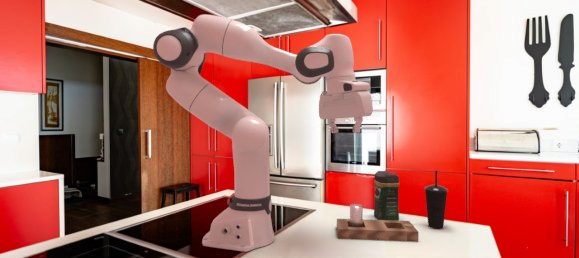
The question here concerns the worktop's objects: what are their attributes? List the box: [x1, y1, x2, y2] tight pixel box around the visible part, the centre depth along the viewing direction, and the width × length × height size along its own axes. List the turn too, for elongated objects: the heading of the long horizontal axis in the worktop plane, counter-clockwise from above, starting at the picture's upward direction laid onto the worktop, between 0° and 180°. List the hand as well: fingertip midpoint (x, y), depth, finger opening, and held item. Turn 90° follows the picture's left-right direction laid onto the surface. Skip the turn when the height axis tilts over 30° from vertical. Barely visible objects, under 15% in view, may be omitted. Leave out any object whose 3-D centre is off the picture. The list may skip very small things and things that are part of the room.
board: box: [336, 218, 419, 243], centre depth 98 cm, size 24×10×4 cm, turn 84°
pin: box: [349, 203, 364, 227], centre depth 99 cm, size 4×4×9 cm
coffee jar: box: [373, 170, 400, 221], centre depth 114 cm, size 10×8×19 cm
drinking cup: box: [424, 170, 449, 230], centre depth 107 cm, size 8×8×20 cm
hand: (345, 132), depth 94 cm, fingers open, 8 cm apart
